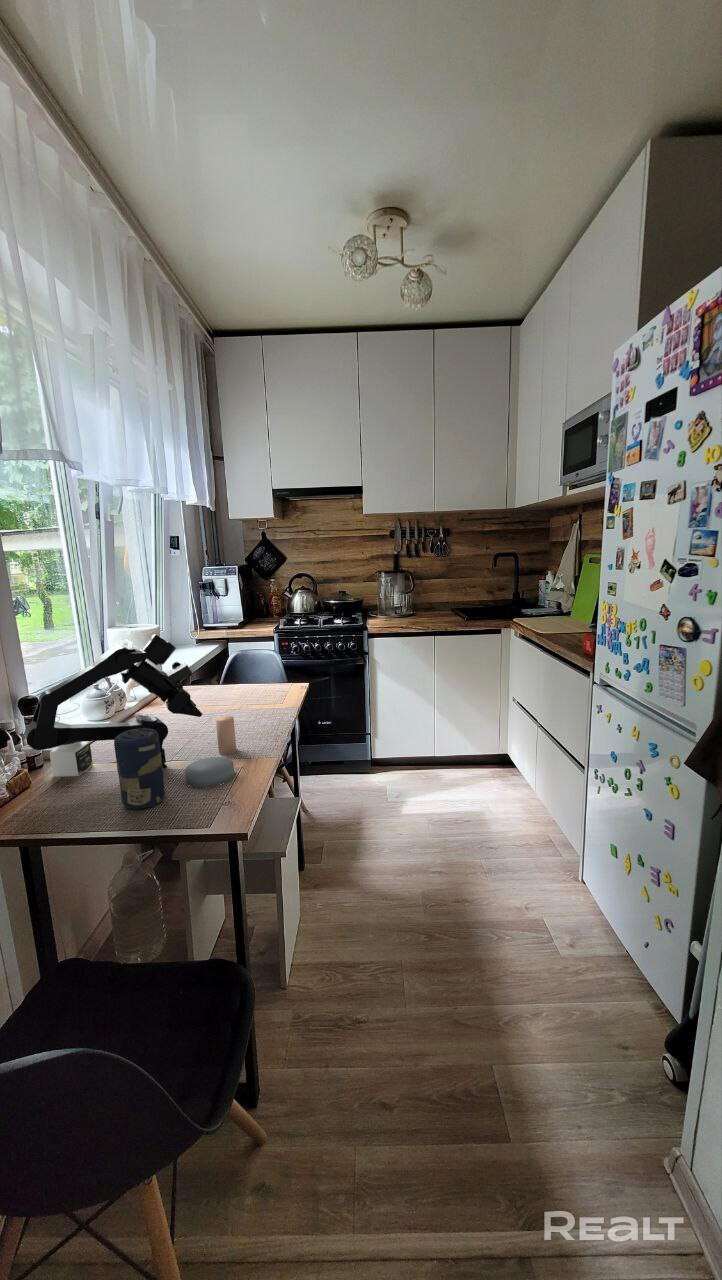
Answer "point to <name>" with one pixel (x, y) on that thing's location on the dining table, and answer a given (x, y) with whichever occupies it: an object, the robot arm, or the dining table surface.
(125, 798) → the canister
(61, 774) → the medicine bottle
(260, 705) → the dining table surface
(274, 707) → the dining table surface
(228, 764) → the pedestal
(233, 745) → the tan piece
